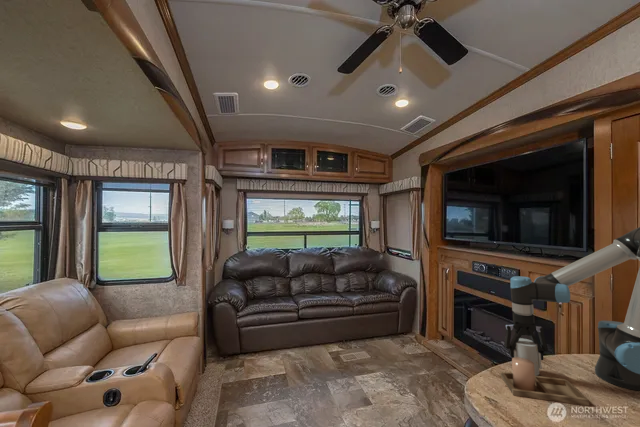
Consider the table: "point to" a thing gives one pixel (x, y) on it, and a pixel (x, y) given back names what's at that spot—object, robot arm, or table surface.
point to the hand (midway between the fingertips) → (527, 366)
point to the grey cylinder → (528, 352)
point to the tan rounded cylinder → (523, 374)
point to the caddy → (548, 390)
